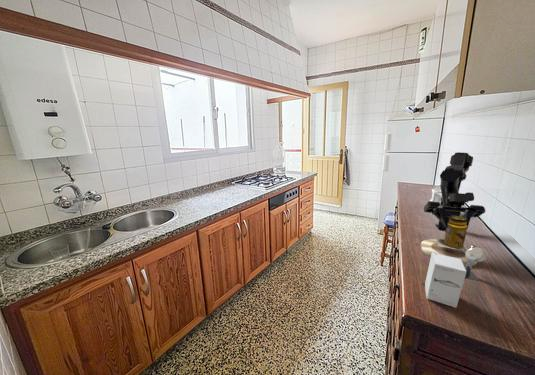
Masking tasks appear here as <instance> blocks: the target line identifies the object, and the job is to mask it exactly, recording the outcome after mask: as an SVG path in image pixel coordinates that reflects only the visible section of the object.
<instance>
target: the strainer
mask: <svg viewBox="0 0 535 375" xmlns="http://www.w3.org/2000/svg"><path fill="white" fill-rule="evenodd" d="M431 192H432V195H431V199H429V201H433V202H439V203H440V204H441V198H442V194H441V188H432V189H431Z"/></svg>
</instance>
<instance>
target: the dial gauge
mask: <svg viewBox="0 0 535 375" xmlns="http://www.w3.org/2000/svg"><path fill="white" fill-rule="evenodd" d="M465 248H466V247H465ZM465 248H463V249H462V250H463V251H464V252H465V256H466V257H467V258H468V259H467V262H466V266H465V269H466V271H467V272H466V275H465V279H466V280H467V279H468V280H473V281H477V282H478V281H480V279H479V278H478V277H477V275H476V274H475V273H474V272H473V271H472V268H473V266H472V265H473V262H477V263H482V262H484V261H485V260H486V258H487V254H486V252H485V251H484V250H483V249H482V248H480V247H478V245H475V244H471V245H470V247H468V248H467V249H465Z"/></svg>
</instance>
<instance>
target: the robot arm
mask: <svg viewBox="0 0 535 375" xmlns="http://www.w3.org/2000/svg"><path fill="white" fill-rule="evenodd" d="M473 162H474V156H472V155H470V154H469V152H459V151H458V152H454V154H452V155H451V157H450V161H449V165H448V166H446V167H445V169H444V170H442V171H441V173H440V174H439V178H440V189H441V193H440V194H442V198H441V204H440V203H439V202H433V201H430V200H429V201H428V202H427V203H426V204H425V205H424V206H423V212H424V213H428V214H429V213H430V214H432V215H433V216H434V217H436V218H437V219H438V223H437V224H436V223H435V227H436V228H437V229H438V231H445V232H446V228H447V223H448V222H449V217H450V216H453V215H456V216H461V217H464V218H466V219H467V224H466V225H467V230H468V228H469V225H470V222H471V219H472V218H479V217H480V216H482V215H483V214H485V213H486V212H487V211H486V207H484V206H483V205H477V204H476V205H475V204H470V205H469V206H468V207H466V206H465V205H466V203H469V202H473V201H475V195H474V192H465V193H460V192H459V191H460V188H461V185H462V182H463V181H465V180H466V179H467V174H466V173H467V172H468V171H469V170H470V167H472V165H473ZM464 206H465V207H464ZM461 214H462V215H461Z"/></svg>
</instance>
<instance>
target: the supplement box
mask: <svg viewBox="0 0 535 375" xmlns="http://www.w3.org/2000/svg"><path fill="white" fill-rule="evenodd" d="M429 259H430V260H429V265H428V268H427V274H426V277H425V283H424V290H425V296H426V299H427V300H430V301H433V302H437V303H440V304H443V305H447V306H450V307H452V308H454V309H457V307H458V304H459V300H460V296H461V292H462V289H463V286H464V282H465V279H466V278H465V275H466V272H467V271H466V269H465V267H464V265H463V262H462V260H461V259H458V258H453V257H449V256H444V255H440V254H436V253H432V254H431V257H430V258H429Z"/></svg>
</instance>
